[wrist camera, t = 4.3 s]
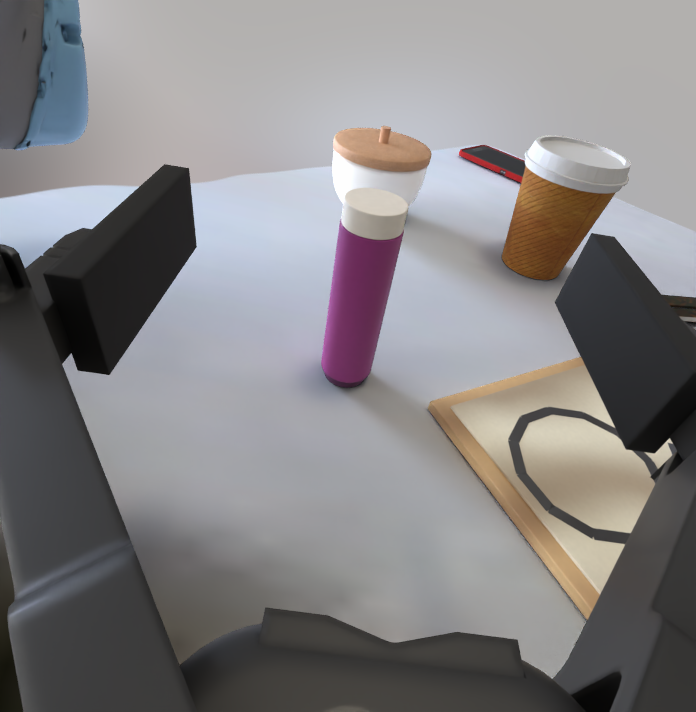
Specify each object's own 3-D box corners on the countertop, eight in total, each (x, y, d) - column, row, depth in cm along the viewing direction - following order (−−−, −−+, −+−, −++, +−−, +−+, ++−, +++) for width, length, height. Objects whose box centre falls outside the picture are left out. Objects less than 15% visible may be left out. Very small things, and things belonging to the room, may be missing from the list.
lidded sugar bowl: (307, 206, 53) (314, 119, 46) (360, 185, 60) (373, 107, 53) (383, 242, 49) (402, 152, 42) (430, 215, 56) (453, 134, 49)
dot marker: (312, 361, 33) (332, 188, 25) (355, 352, 35) (388, 185, 26) (332, 396, 31) (362, 218, 22) (377, 384, 32) (422, 213, 24)
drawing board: (427, 408, 31) (430, 398, 31) (614, 351, 39) (620, 343, 39) (734, 816, 18) (753, 815, 17) (925, 600, 26) (943, 592, 25)
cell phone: (482, 150, 79) (484, 144, 78) (557, 181, 72) (560, 175, 71) (456, 155, 74) (457, 149, 74) (533, 189, 67) (536, 183, 67)
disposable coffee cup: (484, 236, 53) (525, 127, 45) (565, 253, 53) (620, 146, 45) (489, 277, 46) (537, 156, 38) (582, 297, 46) (651, 179, 38)
